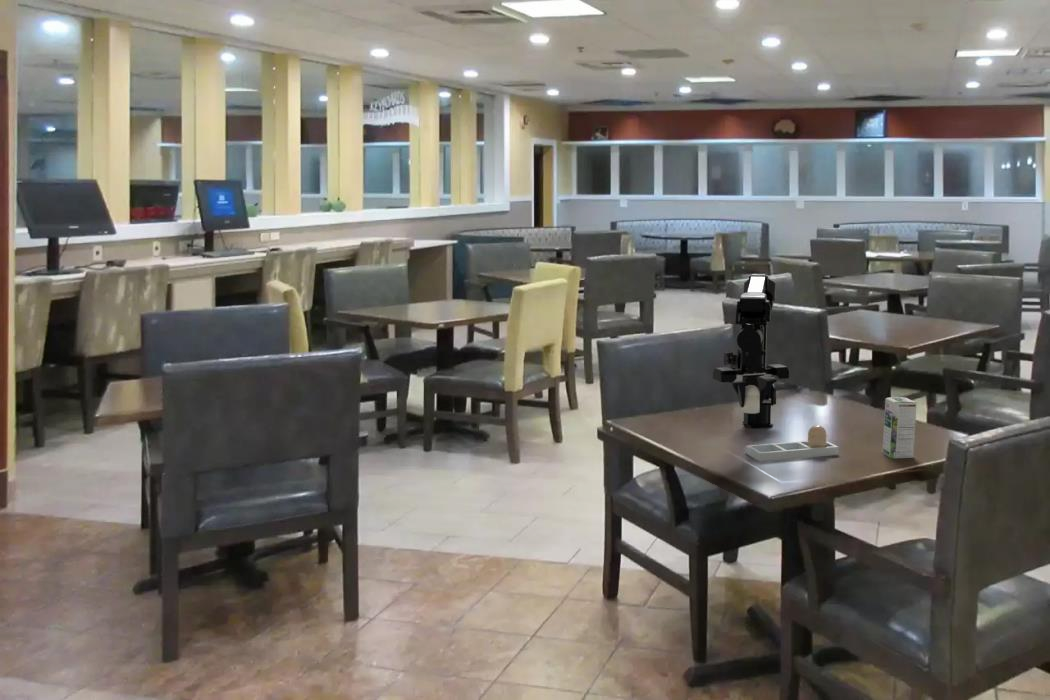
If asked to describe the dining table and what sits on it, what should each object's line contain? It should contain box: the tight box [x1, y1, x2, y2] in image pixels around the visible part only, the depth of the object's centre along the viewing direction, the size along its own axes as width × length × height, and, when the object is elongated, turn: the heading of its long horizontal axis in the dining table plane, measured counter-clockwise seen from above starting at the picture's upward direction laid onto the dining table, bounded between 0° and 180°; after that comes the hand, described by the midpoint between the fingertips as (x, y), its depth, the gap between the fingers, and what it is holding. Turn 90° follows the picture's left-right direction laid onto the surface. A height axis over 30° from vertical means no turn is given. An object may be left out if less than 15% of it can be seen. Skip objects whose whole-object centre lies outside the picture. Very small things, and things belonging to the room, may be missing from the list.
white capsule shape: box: [741, 385, 760, 414], centre depth 262 cm, size 4×4×7 cm
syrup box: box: [882, 396, 918, 459], centre depth 255 cm, size 6×6×14 cm
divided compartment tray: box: [745, 440, 840, 462], centre depth 258 cm, size 21×8×2 cm, turn 104°
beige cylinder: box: [807, 424, 827, 448], centre depth 259 cm, size 4×4×7 cm
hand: (750, 406), depth 262 cm, fingers closed on white capsule shape, 4 cm apart
